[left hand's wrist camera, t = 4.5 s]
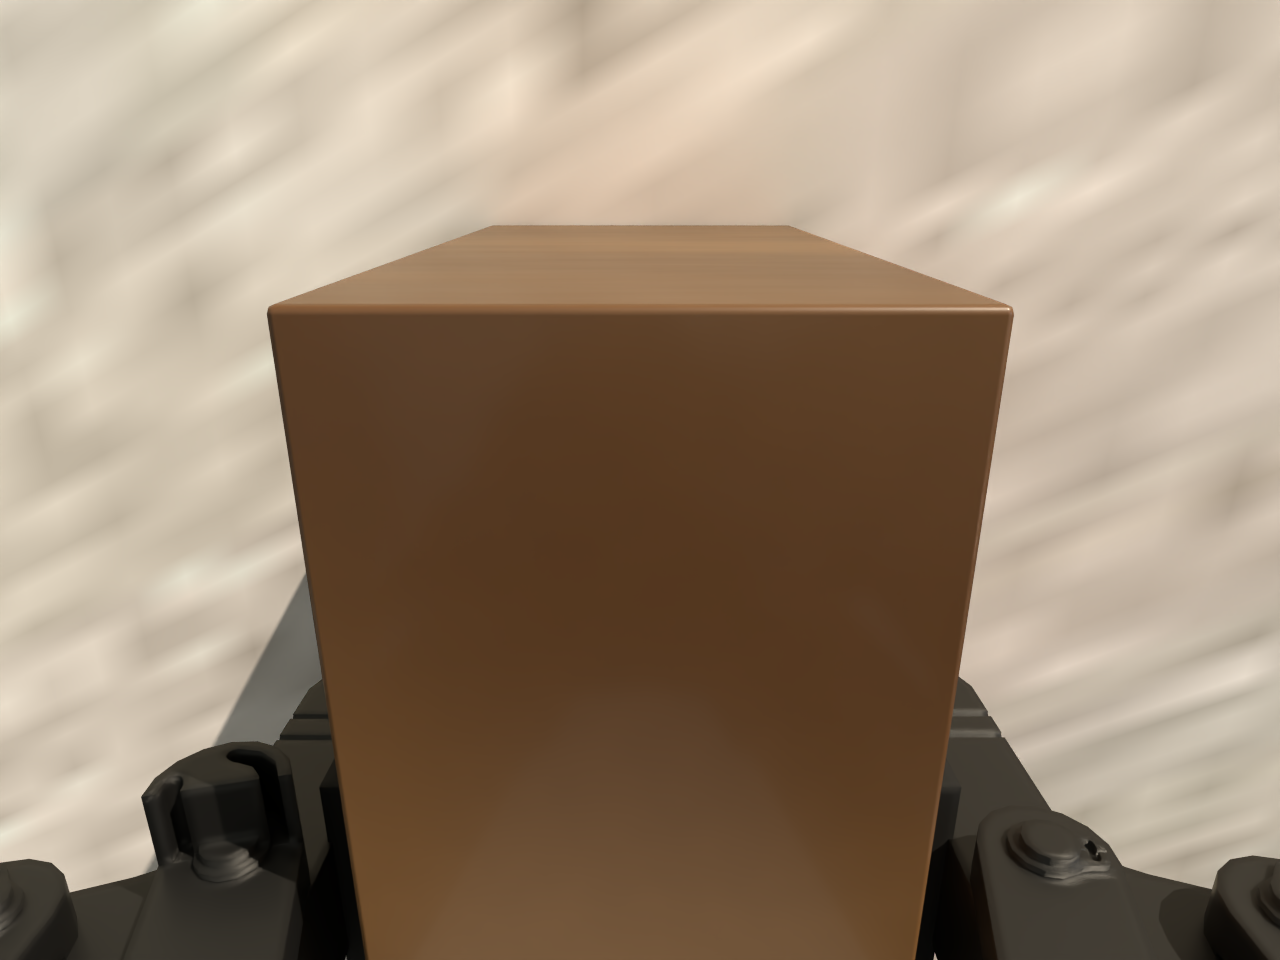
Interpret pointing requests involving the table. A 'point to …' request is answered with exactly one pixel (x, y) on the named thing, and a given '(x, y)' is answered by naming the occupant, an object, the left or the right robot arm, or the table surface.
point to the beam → (640, 585)
